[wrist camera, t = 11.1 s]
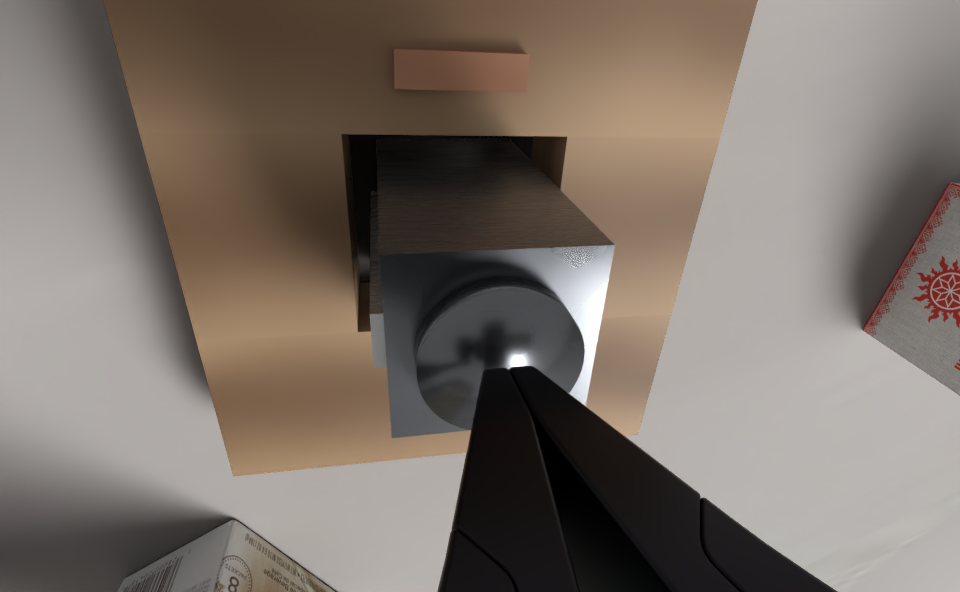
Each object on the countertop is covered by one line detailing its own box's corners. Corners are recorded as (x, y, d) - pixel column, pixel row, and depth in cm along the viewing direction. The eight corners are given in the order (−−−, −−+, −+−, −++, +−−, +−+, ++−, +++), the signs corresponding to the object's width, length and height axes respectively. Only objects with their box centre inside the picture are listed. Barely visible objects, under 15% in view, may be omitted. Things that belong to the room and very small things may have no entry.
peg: (509, 138, 16) (630, 259, 8) (501, 256, 18) (593, 439, 10) (367, 139, 15) (362, 273, 8) (376, 262, 17) (378, 463, 10)
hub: (606, 383, 21) (641, 440, 19) (252, 412, 19) (231, 483, 16) (710, -91, 13) (798, -115, 11) (125, -149, 11) (40, -200, 8)
